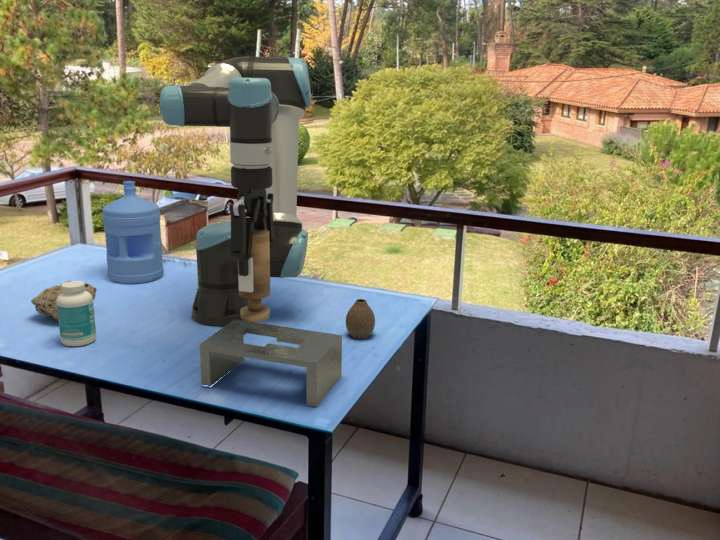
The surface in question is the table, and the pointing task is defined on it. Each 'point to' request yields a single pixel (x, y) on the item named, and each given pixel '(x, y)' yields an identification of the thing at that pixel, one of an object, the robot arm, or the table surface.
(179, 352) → the table surface
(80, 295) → the pill bottle
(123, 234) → the water jug
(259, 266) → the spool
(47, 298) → the pumice stone
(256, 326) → the keyhole plate
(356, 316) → the vase
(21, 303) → the table surface
